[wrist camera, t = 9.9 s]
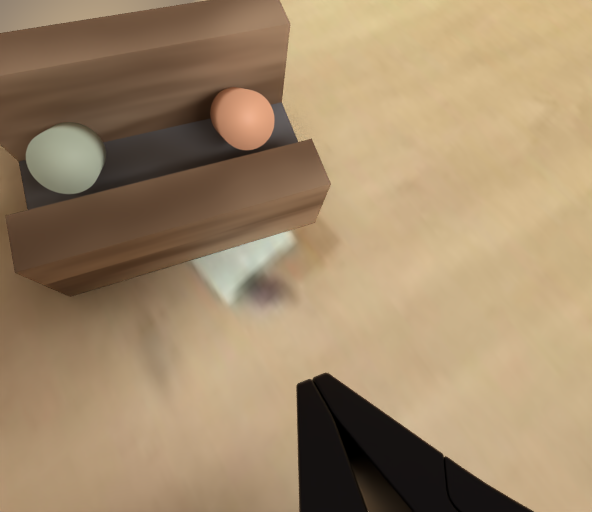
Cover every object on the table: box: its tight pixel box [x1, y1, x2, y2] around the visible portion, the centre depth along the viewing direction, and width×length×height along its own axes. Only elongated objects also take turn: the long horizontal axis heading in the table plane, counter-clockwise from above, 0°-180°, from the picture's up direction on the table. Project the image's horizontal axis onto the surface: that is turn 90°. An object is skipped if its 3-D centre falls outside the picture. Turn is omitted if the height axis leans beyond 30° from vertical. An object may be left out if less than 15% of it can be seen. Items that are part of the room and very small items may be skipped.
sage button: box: [26, 122, 106, 194], centre depth 19 cm, size 4×3×4 cm
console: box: [0, 0, 331, 296], centre depth 21 cm, size 10×16×9 cm, turn 110°
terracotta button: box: [210, 87, 274, 150], centre depth 21 cm, size 4×3×4 cm
